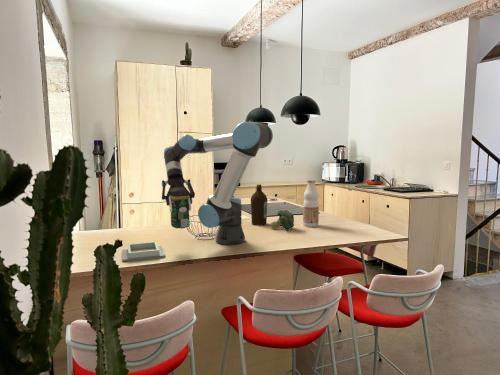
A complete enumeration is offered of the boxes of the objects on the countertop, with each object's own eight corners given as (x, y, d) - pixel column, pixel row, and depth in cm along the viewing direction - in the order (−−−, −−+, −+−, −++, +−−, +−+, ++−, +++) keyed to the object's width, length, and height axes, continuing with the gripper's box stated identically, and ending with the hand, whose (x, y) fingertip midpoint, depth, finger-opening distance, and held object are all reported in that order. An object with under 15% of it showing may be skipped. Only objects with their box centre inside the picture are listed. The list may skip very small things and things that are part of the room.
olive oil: (249, 225, 221) (249, 185, 219) (252, 221, 232) (252, 183, 229) (266, 226, 220) (266, 185, 217) (268, 222, 230) (268, 184, 227)
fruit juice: (302, 227, 216) (303, 181, 213) (303, 223, 226) (303, 179, 222) (318, 227, 215) (319, 181, 212) (318, 224, 224) (319, 179, 221)
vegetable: (272, 222, 220) (294, 212, 217) (277, 239, 213) (300, 229, 210) (264, 213, 211) (287, 203, 208) (270, 231, 203) (294, 220, 200)
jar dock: (161, 247, 173) (161, 240, 173) (165, 257, 158) (165, 249, 158) (122, 251, 167) (122, 244, 167) (122, 262, 152) (122, 254, 152)
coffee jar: (169, 225, 169) (167, 187, 167) (185, 224, 173) (183, 186, 171) (175, 229, 161) (173, 189, 159) (191, 227, 165) (190, 188, 163)
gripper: (194, 176, 182) (202, 212, 169) (152, 178, 175) (157, 216, 162) (196, 166, 177) (204, 203, 164) (153, 168, 170) (157, 206, 157)
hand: (180, 209), depth 163 cm, fingers closed on coffee jar, 8 cm apart
